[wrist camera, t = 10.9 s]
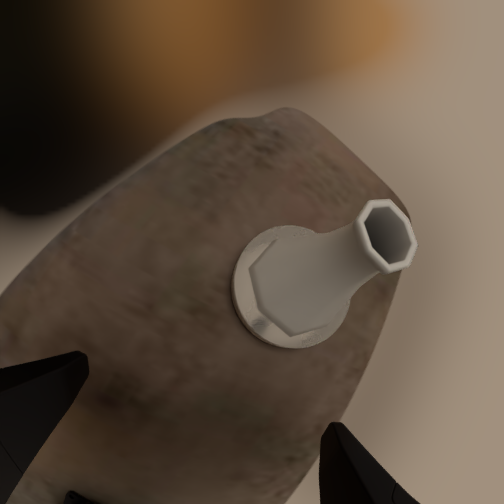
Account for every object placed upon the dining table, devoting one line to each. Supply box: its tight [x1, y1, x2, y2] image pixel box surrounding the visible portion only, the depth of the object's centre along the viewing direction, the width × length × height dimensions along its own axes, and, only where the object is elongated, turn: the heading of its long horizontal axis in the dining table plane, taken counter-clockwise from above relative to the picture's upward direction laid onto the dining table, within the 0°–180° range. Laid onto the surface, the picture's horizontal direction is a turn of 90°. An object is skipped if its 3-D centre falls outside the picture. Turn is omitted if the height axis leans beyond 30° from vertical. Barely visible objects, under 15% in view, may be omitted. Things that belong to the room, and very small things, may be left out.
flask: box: [248, 199, 418, 337], centre depth 15 cm, size 7×7×10 cm
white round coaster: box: [231, 225, 350, 348], centre depth 21 cm, size 9×9×2 cm
